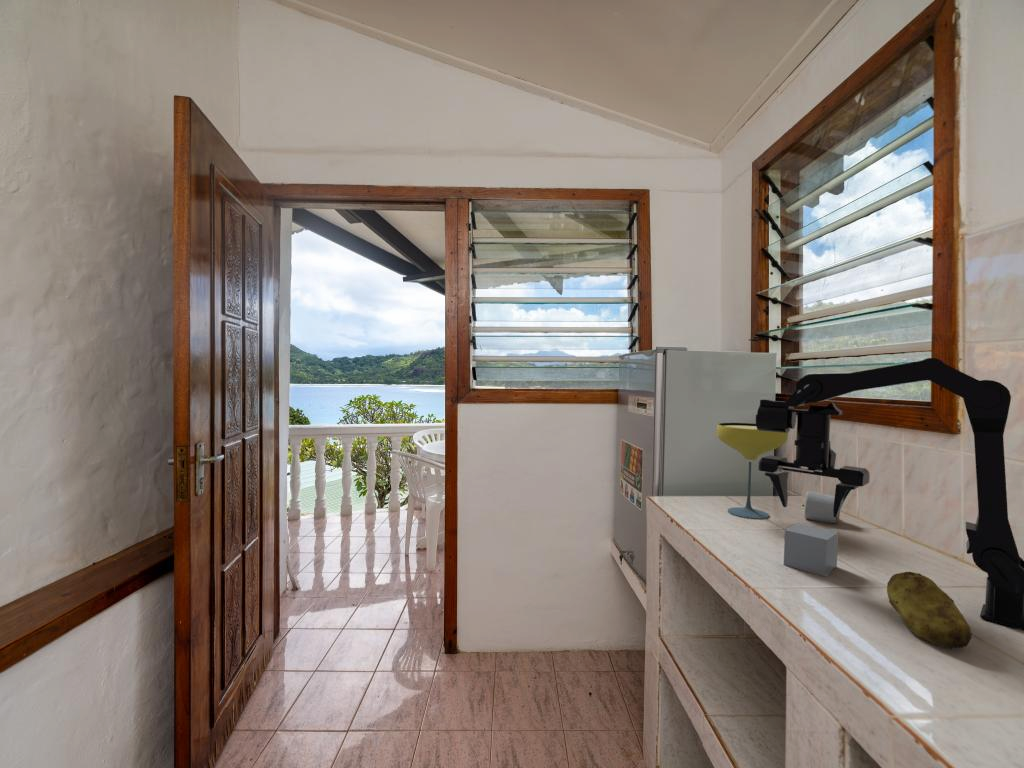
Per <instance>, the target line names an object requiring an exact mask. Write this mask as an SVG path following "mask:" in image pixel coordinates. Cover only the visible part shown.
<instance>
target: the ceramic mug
mask: <svg viewBox="0 0 1024 768" xmlns="http://www.w3.org/2000/svg"><path fill="white" fill-rule="evenodd" d="M834 499H835V495H829V494H824V493H820V492H815V491H811V490H808V491H807V492H806V498H805V507H804V519H806V520H810V521H811V520H812V521H817V522H824V523H828V522H829V524H837V523H839V522H840V518H841V517H840V516H841V511H840V512H839V514H838V516H837V517H836V518H835V517H834V514H833V508H834Z"/></svg>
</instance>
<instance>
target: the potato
mask: <svg viewBox="0 0 1024 768" xmlns="http://www.w3.org/2000/svg"><path fill="white" fill-rule="evenodd" d="M886 584H887V586H886V594H887V597H888V602H889V603H890V605H891V607H892V608H893V609H894V610H895V611H896V612H897V613H898V614H899V616H900V618H901V621H902V623H903V624H904V626H905V627H906V628H907V629H908V630H910V632H912V633H913V634H915V635H916V636H917V637H919V638H921V639H923V640H925V641H927V642H929V643H931V644H935V645H938V646H940V647H941V646H942V647H943V648H947V649H951V650H953V649H963V648H966V647H967V646H968V645H969V643H970V642H971V640H972V635H973V633H972V630H971V627H970V624H969V623H968V622H967V620H966V619H965V617H964V615H963V614H962V613H961V611H960V610H959V608H958V607H957V605H956V604H955V602H954V600H953V598H951V597H950V596H949V594H947V593H946V592H945V591H944V590H942V589H941V588H940V587H939V586H938V584H936V583H935V582H934V580H933V579H931V578H929V577H928V576H926V575H923V574H921V573H917V572H913V571H904V572H900V573H895V574H892V575H891V577H889V580H888V582H887V583H886Z"/></svg>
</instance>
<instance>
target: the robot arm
mask: <svg viewBox="0 0 1024 768" xmlns="http://www.w3.org/2000/svg"><path fill="white" fill-rule="evenodd" d="M923 381H930V382H932V383H934V384H936V385H938V386H939V387H941V388H943V389H945V390H947V391H949V392H951V393H952V394H955V395H957V396H958V397H960V398H962V400H963V403H964V406H965V409H966V412H967V413H966V414H967V416H968V420H969V422H970V427H971V429H972V433H973V441H974V442H973V443H974V458H975V459H974V460H975V461H974V462H975V478H976V493H977V496H976V497H977V516H976V521H975V523H972V522H969V521H965V532H966V535H967V540H966V554H968V555H970V554H971V556H972V559H973V560H972V561H973V562H974V564H975V565H976V567H978V568H979V569H980V570H981V571H982V572H984V573H986V574H987V577H986V582H985V583H986V585H985V600H984V601H985V603H983V604H982V606H981V610H980V614H979V618H980V619H982V620H983V619H984V620H986V621H989V622H993V623H997V624H999V625H1000V624H1001V625H1005V626H1008V627H1012V628H1016V629H1019V630H1023V631H1024V559H1023V558H1022V557H1020V553H1019V550H1018V547H1017V543H1016V539H1015V538H1014V535H1013V530H1012V526H1011V524H1010V521H1009V510H1008V494H1007V479H1006V478H1007V477H1006V476H1007V475H1006V462H1005V461H1006V460H1005V445H1004V444H1005V443H1004V435H1005V430H1006V425H1007V421H1008V417H1009V411H1010V407H1011V400H1012V396H1011V392H1010V390H1009V389H1008V387H1007V386H1005V385H1004V384H1003V383H1001V382H998V381H995V380H992V379H982V380H978V379H976V378H975V377H973V376H971V375H969V374H966V373H964V372H963V371H960V370H958V369H956V368H954V367H953V366H950V365H948V364H946V363H945V362H944V361H943V360H941V359H939V358H936V357H928V358H924V359H922V360H919V361H918V360H917V361H913V362H912V361H911V362H906V363H902V364H901V363H900V364H895V365H890V366H888V365H887V366H883V367H877V368H872V369H865V370H860V371H854V372H847V373H845V372H843V373H809V374H805V375H803V376H801V377H800V378H799V380H797V383H796V386H795V387H796V388H795V390H794V392H793V393H792V394H791V395H790V396H789V397H788V399H786V400H785V401H783V400H782V401H781V400H780V401H779V400H771V399H760V400H759V406H758V408H757V413H756V415H755V424H756V427H757V429H758V430H759V431H770V432H780V433H788V434H789V432H790V430H794V429H795V427H796V439H794V446H796V447H795V460H793V462H791V461H788V458H787V457H784V456H775V455H767V456H764V457H761V458H760V459H759V461H758V468H757V469H758V471H760V472H764V476H766V477H769V479H770V480H771V483H772V485H773V486H774V488H775V490H776V492H777V495H778V498H779V500H780V502H781V505H782V507H783V508H786V507H788V501H789V500H788V498H789V497H788V477H789V472H794V473H801V474H807V475H815V476H820V477H827V478H833V479H834V478H835V479H837V480H838V481H839V483H837V484H836V485H835V490H834V496H835V499H834V508H833V514H834V517H835V518H836V517H837V516H838V514H839V512H840V513H841V510H842V507H843V506H844V503H845V501H846V499H847V496H849V494H850V492H852V491H853V490H856V489H858V488H859V487H865V486H866V485H868V484H869V483H870V471H869V470H868V468H865V467H859V466H858V467H857V466H851V465H843V466H842V467H840V468H835V466H836V459H837V453H836V452H835V451H834V450H832V448H831V440H830V432H831V431H830V429H831V427H830V426H831V416H841V415H843V411H842V410H841V409H840V408H839V407H838V406H836V404H835V402H830V403H828V404H827V405H818V404H817V405H816V404H815V405H814V404H813V403H820V402H821V403H822V402H825V401H827V400H832V399H835V398H838V397H841V396H844V395H848V394H851V393H854V392H857V391H863V390H865V391H866V390H872V389H877V388H884V387H890V386H896V385H904V384H910V383H911V384H912V383H917V382H923ZM810 403H811V405H809V408H808V409H802V408H801V409H800V408H795V407H801V406H802V407H803V406H805V405H808V404H810ZM803 467H804V468H803Z"/></svg>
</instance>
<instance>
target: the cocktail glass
mask: <svg viewBox="0 0 1024 768" xmlns="http://www.w3.org/2000/svg"><path fill="white" fill-rule="evenodd" d="M716 435H717V438H719V440H720V441H721V442H723V443H724V444H725V445H727V446H728V447H729V448H731V449H734V450H735V451H737V452H738V453H740V454H741V455H742V457H743V458H744V459H745V461H747V462H748V477H747V479H748V480H747V481H748V482H747V495H746V502H745V506H744V507H743V506H741V507H740V506H736V507H729V508H727V512H728V513H729V514H730V515H733V516H735V517H739V518H744V519H749V518H751V520H765V519H764V518H766V519H768V518H769V517H770V514H769V513H768V512H766V511H763V510H761V509H757V508H753V507H752V504H751V483H752V482H751V479H752V478H751V477H752V463H754V462H755V461H756V460H757V459H758V458H759V457H760V456H762V455H763V454H765V453H768V452H772V451H774V450H776V449H778V448H781V447H782V446H783V445H784V444H786V443H787V441H788V436H789V432H788V433H780V432H770V431H759V430H758V429H757V427H756V423H750V422H748V423H747V422H722V423H718V425H717V427H716Z"/></svg>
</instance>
